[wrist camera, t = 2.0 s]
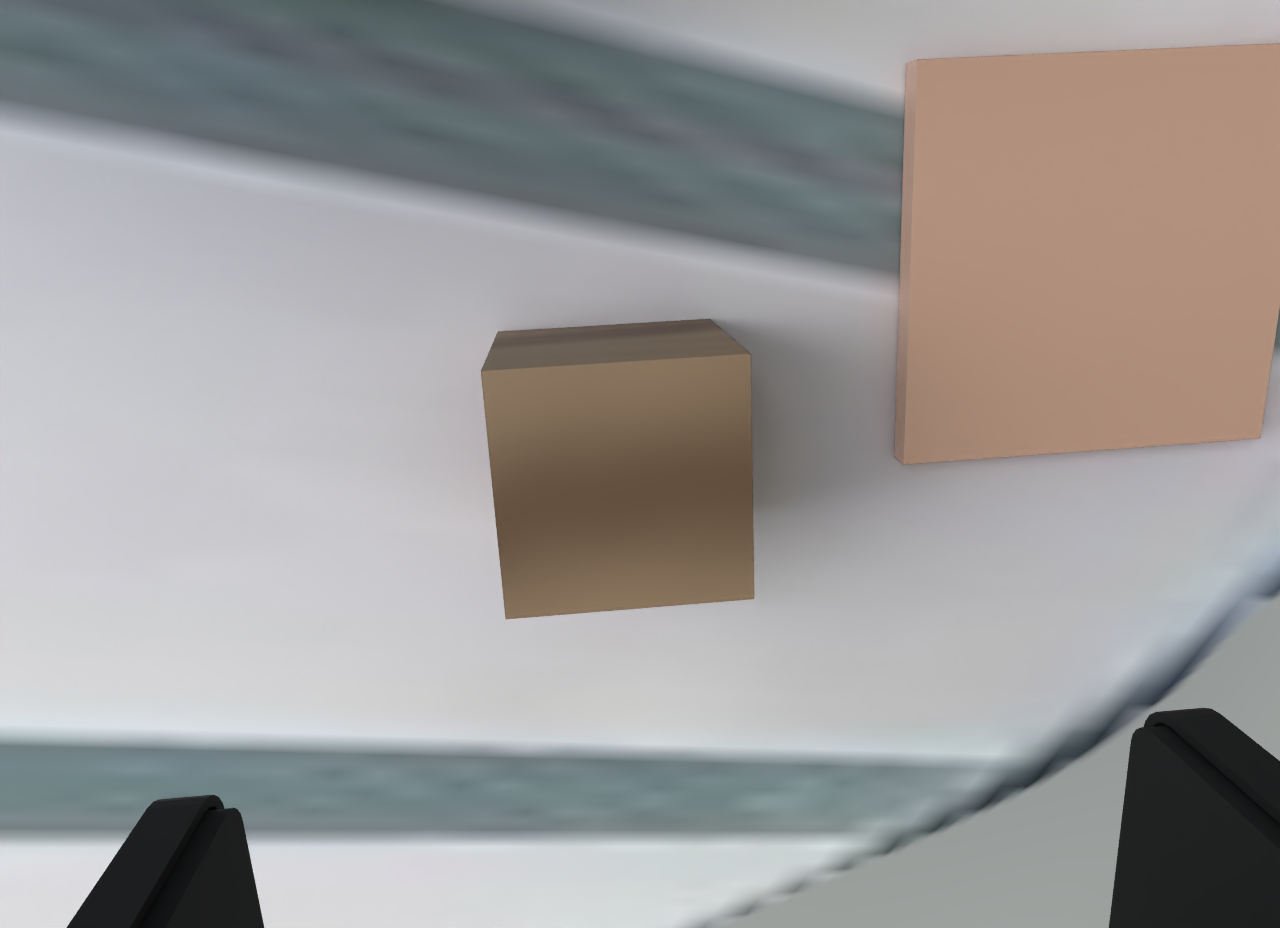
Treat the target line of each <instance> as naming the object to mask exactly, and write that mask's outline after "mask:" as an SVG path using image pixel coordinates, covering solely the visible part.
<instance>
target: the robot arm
mask: <svg viewBox="0 0 1280 928" xmlns="http://www.w3.org/2000/svg"><path fill="white" fill-rule="evenodd" d="M67 928H264V924H263V919H262V914H261V909H260V904H259V899H258V894H257V889H256V884H255V879H254V874H253V869H252V864H251V859H250V854H249V849H248V844H247V839H246V834H245V829H244V824H243V820H242V817H241V814H240V812H239V811H238V809H235V808H228V809H224V805H223V803H222V801H221V800H220V798H219V797H218V796H215V795H205V796H194V797H183V798H171V799H160V800H157V801H154V802H153V803H152V804H151V805H150V806H149V807H148V808H147V809H146V811H145V812H144V814H143V815H142V817H141V818H140V820H139V821H138V823H137V824H136V826H135V827H134V829H133V830H132V832H131V833H130V835H129V836H128V838H127V839H126V841H125V842H124V844H123V845H122V846H121V848H120V849H119V851H118V852H117V854H116V855H115V857H114V858H113V860H112V861H111V863H110V864H109V866H108V867H107V869H106V870H105V872H104V873H103V875H102V876H101V878H100V879H99V881H98V882H97V883H96V885H95V886H94V888H93V889H92V891H91V892H90V894H89V895H88V897H87V898H86V900H85V901H84V903H83V904H82V906H81V907H80V909H79V910H78V912H77V913H76V915H75V916H74V917H73V919H72V920H71V922H70V923H69V925H68V926H67ZM1109 928H1280V761H1279V760H1278V759H1276V758H1275V757H1274V756H1273V755H1271V754H1270V753H1269V752H1267V751H1266V750H1265V749H1264V748H1262V747H1261V746H1260V745H1259V744H1257V743H1256V742H1255V741H1254V740H1252V739H1251V738H1250V737H1249V736H1247V735H1246V734H1245V733H1244V732H1242V731H1241V730H1240V729H1239V728H1237V727H1236V726H1235V725H1234V724H1232V723H1231V722H1230V721H1229V720H1227V719H1226V718H1225V717H1223V716H1222V715H1221V714H1220V713H1218V712H1216V711H1214V710H1213V709H1209V708H1197V709H1185V710H1174V711H1162V712H1155V713H1153V714H1151V715H1149V717H1148V718H1147V720H1146V721H1145V724H1144V727H1142V728H1139V729H1137V730H1136V731H1135V732H1134V733H1133V736H1132V740H1131V746H1130V754H1129V763H1128V771H1127V780H1126V788H1125V796H1124V805H1123V813H1122V822H1121V830H1120V839H1119V847H1118V856H1117V864H1116V872H1115V881H1114V889H1113V898H1112V906H1111V915H1110V923H1109Z"/></svg>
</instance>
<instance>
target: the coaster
mask: <svg viewBox="0 0 1280 928" xmlns="http://www.w3.org/2000/svg"><path fill="white" fill-rule="evenodd" d="M1279 309H1280V43H1276V44H1253V45H1231V46H1208V47H1186V48H1163V49H1141V50H1119V51H1096V52H1074V53H1051V54H1029V55H1006V56H984V57H962V58H939V59H917V60H914V61H912V62H909V63H906V87H905V120H904V154H903V187H902V220H901V254H900V287H899V320H898V354H897V387H896V420H895V454H894V457H895V458H896V459H898V460H899V461H900V462H901V463H903V464H916V463H930V462H944V461H958V460H971V459H985V458H999V457H1012V456H1026V455H1040V454H1053V453H1067V452H1081V451H1094V450H1108V449H1122V448H1135V447H1149V446H1163V445H1177V444H1190V443H1204V442H1218V441H1231V440H1245V439H1259V438H1261V431H1262V424H1263V417H1264V410H1265V404H1266V397H1267V390H1268V383H1269V376H1270V370H1271V363H1272V356H1273V349H1274V343H1275V336H1276V329H1277V322H1278V315H1279Z"/></svg>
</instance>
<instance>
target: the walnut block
mask: <svg viewBox="0 0 1280 928" xmlns="http://www.w3.org/2000/svg"><path fill="white" fill-rule="evenodd" d="M481 377H482V387H483V397H484V407H485V417H486V427H487V437H488V447H489V457H490V467H491V477H492V487H493V497H494V507H495V517H496V527H497V537H498V547H499V557H500V567H501V577H502V587H503V597H504V607H505V617H506V619H515V618H527V617H539V616H551V615H564V614H576V613H588V612H600V611H613V610H625V609H637V608H649V607H662V606H674V605H686V604H698V603H711V602H723V601H735V600H747V599H754V546H753V481H752V415H751V354H750V353H749V352H748V351H747V350H746V349H744V348H743V347H742V346H741V345H740V344H739V343H737V342H736V341H735V340H734V339H733V338H732V337H730V336H729V335H728V334H727V333H726V332H725V331H723V330H722V329H721V328H720V327H719V326H717V325H716V324H715V323H714V322H713V321H712V320H710V319H698V320H682V321H665V322H649V323H632V324H616V325H600V326H583V327H567V328H551V329H534V330H518V331H502V332H498V333H497V335H496V337H495V340H494V342H493V344H492V347H491V349H490V351H489V353H488V356H487V358H486V360H485V363H484V365H483V367H482V370H481Z"/></svg>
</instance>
